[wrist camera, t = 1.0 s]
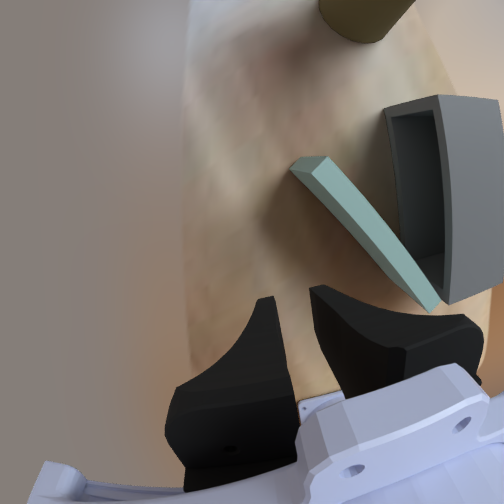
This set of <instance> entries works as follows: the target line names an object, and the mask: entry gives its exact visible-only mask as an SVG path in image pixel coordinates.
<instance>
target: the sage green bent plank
mask: <svg viewBox="0 0 504 504" xmlns="http://www.w3.org/2000/svg"><path fill="white" fill-rule="evenodd" d="M289 170H290V171H291V172H292V173H293V174H294V175H295V176H296V177H297V178H298V179H299V180H300V181H301V182H302V183H303V184H304V185H305V186H306V187H307V188H308V189H309V190H310V191H311V192H312V193H313V194H314V195H315V196H316V197H317V198H318V199H319V200H320V201H321V202H322V203H323V204H324V205H325V206H326V207H327V208H328V210H329V211H330V212H331V213H332V214H333V215H334V216H335V217H336V218H337V219H338V220H339V221H340V222H341V223H342V225H343V226H344V227H345V228H346V229H347V230H348V231H349V232H350V233H351V234H352V236H353V237H354V238H355V239H356V240H357V241H358V242H359V243H360V245H361V246H362V247H363V248H364V249H365V250H366V251H367V253H368V254H369V255H370V256H371V257H372V258H373V260H374V261H375V262H376V263H377V264H378V265H379V267H380V268H381V269H382V270H383V271H384V272H385V274H386V275H387V276H388V277H389V278H390V279H391V280H392V281H393V282H394V283H395V284H396V285H398V286H399V287H400V288H401V289H402V290H403V291H405V292H406V293H407V294H408V295H409V296H410V297H411V298H412V299H414V300H415V301H416V302H417V303H418V304H419V305H420V306H421V307H423V308H424V309H425V310H426V311H427V312H428V313H430V312H431V311H432V310H433V309H434V308H435V307H436V306H437V305H438V304H439V302H440V301H441V299H440V297H439V296H438V294H437V293H436V291H435V290H434V288H433V287H432V285H431V284H430V282H429V281H428V280H427V278H426V277H425V275H424V274H423V272H422V271H421V270H420V268H419V267H418V265H417V264H416V262H415V261H414V260H413V258H412V257H411V256H410V254H409V253H408V252H407V250H406V249H405V247H404V246H403V245H402V243H401V242H400V241H399V240H398V238H397V237H396V236H395V234H394V233H393V232H392V230H391V229H390V228H389V227H388V225H387V224H386V223H385V222H384V220H383V219H382V218H381V217H380V215H379V214H378V213H377V212H376V211H375V209H374V208H373V207H372V206H371V204H370V203H369V202H368V201H367V200H366V199H365V197H364V196H363V195H362V194H361V193H360V192H359V190H358V189H357V188H356V187H355V186H354V185H353V183H352V182H351V181H350V180H349V179H348V178H347V177H346V176H345V174H344V173H343V172H342V171H341V170H340V169H339V168H338V167H337V166H336V165H335V164H334V162H333V161H332V160H331V159H330V158H329V157H328V156H316V157H300V158H299V159H298V160H297V161H296V162H295V163H294V164H293V165H292V166H291V167H290V168H289Z"/></svg>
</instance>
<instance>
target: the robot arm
mask: <svg viewBox="0 0 504 504" xmlns="http://www.w3.org/2000/svg"><path fill="white" fill-rule="evenodd" d="M309 291H310V299H311V306H312V314H313V322H314V330H315V333H316V336H317V339H318V342H319V345H320V348H321V350H322V352H323V354H324V356H325V358H326V360H327V362H328V364H329V366H330V368H331V370H332V372H333V374H334V376H335V378H336V380H337V381H338V383H339V385H340V387H341V391H337V392H333V393H330V394H326V395H322V396H318V397H314V398H310V399H306V400H302V401H300V402H299V403H298V409H299V415H300V421H301V426H300V424H299V418H298V412H297V407H296V401H295V395H294V390H293V386H292V382H291V378H290V375H289V372H288V369H287V361H286V354H285V349H284V344H283V338H282V333H281V328H280V322H279V317H278V312H277V307H276V301H275V298H274V296H270V297H265V298H260V299H258V300H257V302H256V305H255V308H254V311H253V313H252V315H251V317H250V320H249V322H248V324H247V326H246V327H245V329H244V331H243V332H242V334H241V335H240V337H239V338H238V340H237V341H236V343H235V344H234V345H233V346H232V348H231V349H230V350H229V351H228V352H227V353H226V354H225V355H224V356H223V357H222V358H220V359H219V360H218V361H217V362H216V363H215V364H214V365H212V366H211V367H210V368H208V369H207V370H206V371H204V372H203V373H201V374H200V375H198V376H197V377H195V378H193V379H191V380H189V381H188V382H186V383H184V384H182V385H180V386H179V387H176V390H175V393H174V395H173V398H172V400H171V403H170V406H169V410H168V415H167V420H166V424H165V437H166V439H167V442H168V444H169V445H170V447H171V448H172V450H173V451H174V453H175V454H176V455H177V457H178V458H179V460H180V461H181V462H182V464H183V465H184V466H185V477H184V486H183V488H165V487H143V486H131V485H121V484H111V483H105V482H98V481H91V480H87V479H86V478H85V477H84V476H83V474H82V473H81V472H80V471H78V470H77V469H76V468H74V467H72V466H70V465H66V464H61V463H56V462H52V461H45V463H44V465H43V467H42V469H41V471H40V473H39V476H38V478H37V480H36V482H35V485H34V487H33V489H32V492H31V494H30V496H29V499H28V502H27V504H504V391H503V392H501V393H500V394H499V395H497V396H495V397H493V398H490V397H489V396H488V395H487V394H486V393H485V392H484V391H483V389H482V388H481V387H480V386H481V383H482V382H481V379H480V378H479V377H478V376H477V375H476V372H477V369H478V365H479V362H480V358H481V355H482V351H483V344H484V337H483V332H482V330H481V329H480V327H479V326H477V325H476V324H475V323H474V322H473V321H471V320H470V319H469V318H468V317H467V316H465V315H464V314H455V315H440V316H434V315H414V314H407V313H400V312H394V311H390V310H386V309H382V308H378V307H375V306H372V305H369V304H366V303H363V302H361V301H358V300H356V299H354V298H351V297H349V296H347V295H345V294H343V293H341V292H339V291H337V290H335V289H333V288H331V287H328V286H326V285H320V286H315V287H311V288H309ZM303 407H305V408H303Z"/></svg>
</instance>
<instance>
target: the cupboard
mask: <svg viewBox="0 0 504 504" xmlns="http://www.w3.org/2000/svg"><path fill="white" fill-rule="evenodd" d="M384 112H385V117H386V122H387V128H388V133H389V139H390V145H391V151H392V158H393V165H394V173H395V181H396V190H397V201H398V212H399V226H400V242H401V243H402V245H403V246H404V247H405V249H406V250H407V252H408V253H409V254H410V256H411V257H412V258H413V260H414V261H415V262H416V264H417V265H418V267H419V268H420V270H421V271H422V272H423V274H424V275H425V277H426V278H427V280H428V281H429V282H430V284H431V285H432V287H433V288H434V290H435V291H436V293H437V294H438V296H439V297H440V299H441V300H443V301H444V302H445V303H446V304H448V305H451V304H453V303H456V302H458V301H461V300H463V299H466V298H468V297H471V296H473V295H475V294H478V293H480V292H482V291H485V290H487V289H489V288H492V287H494V286H496V285H498V284H500V283H502V282H503V277H504V133H503V126H502V120H501V113H500V108H499V103H498V100H493V99H486V98H477V97H467V96H454V95H433V96H429V97H425V98H421V99H417V100H413V101H409V102H405V103H401V104H398V105H394V106H390V107H387V108H384Z"/></svg>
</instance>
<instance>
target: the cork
mask: <svg viewBox="0 0 504 504" xmlns="http://www.w3.org/2000/svg"><path fill="white" fill-rule="evenodd" d="M415 1H416V0H319V10H320V12H321V14H322V16H323V18H324V20H325V21H326V22H327V23H328V25H329V26H330V27H331V28H332V29H333V30H335V31H336V32H337V33H339V34H340V35H341V36H343V37H345V38H348V39H350V40H352V41H355V42H360V43H374V42H377V41H379V40H381V39H383V37H384V36H385V35H386V34H387V33H388V32H389V30H390V29H391V28H392V27H393V26H394V25H395V23H396V22H397V21H398V20H399V19H400V18H401V17H402V15H403V14H404V13H405V12H406V11H407V10H408V8H409V7H410V6H411V5H412V4H413V3H414V2H415Z"/></svg>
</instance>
